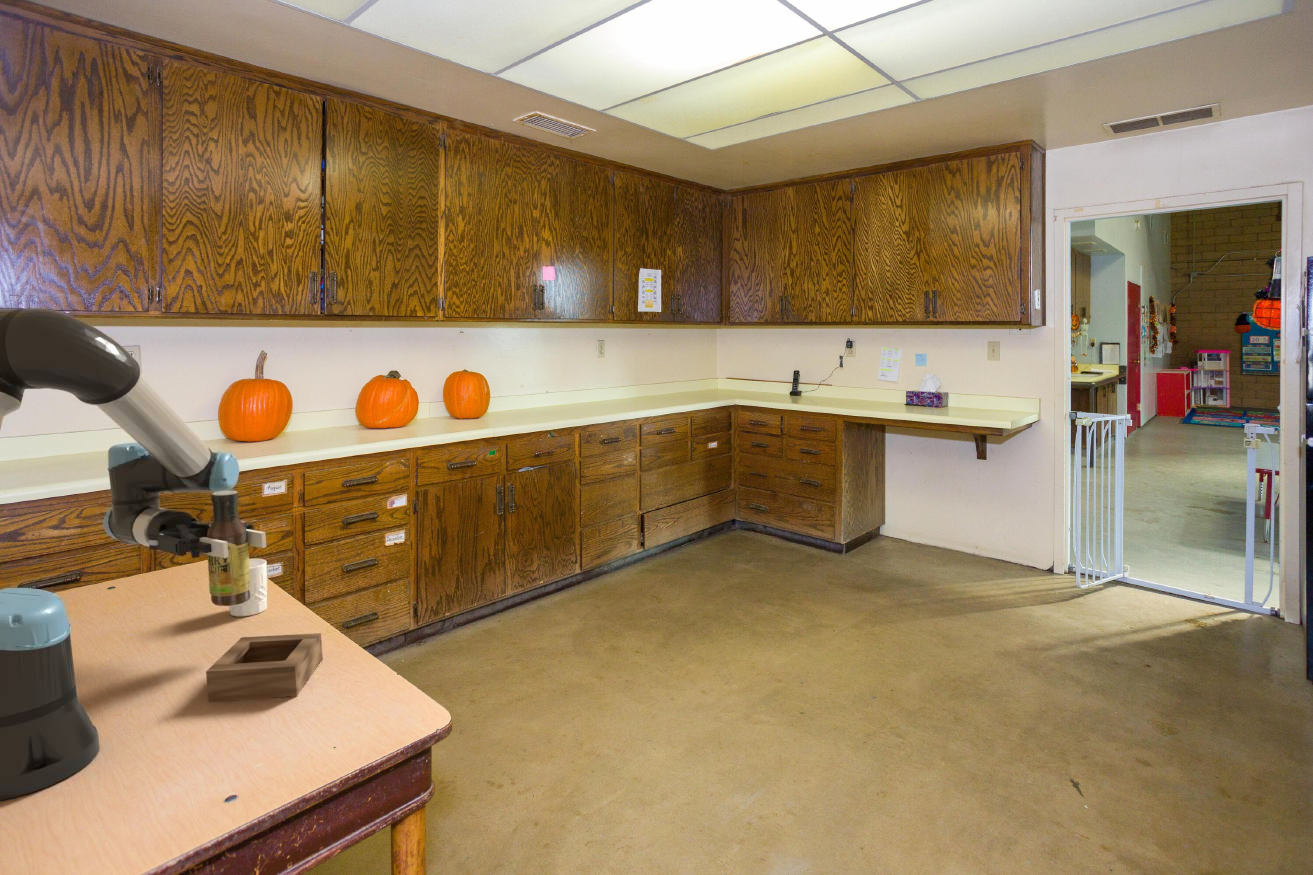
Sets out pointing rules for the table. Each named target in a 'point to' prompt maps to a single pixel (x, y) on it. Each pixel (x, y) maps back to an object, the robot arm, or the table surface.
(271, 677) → the crate
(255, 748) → the table surface
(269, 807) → the table surface
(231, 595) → the sauce bottle
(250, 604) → the white cup
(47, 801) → the table surface
